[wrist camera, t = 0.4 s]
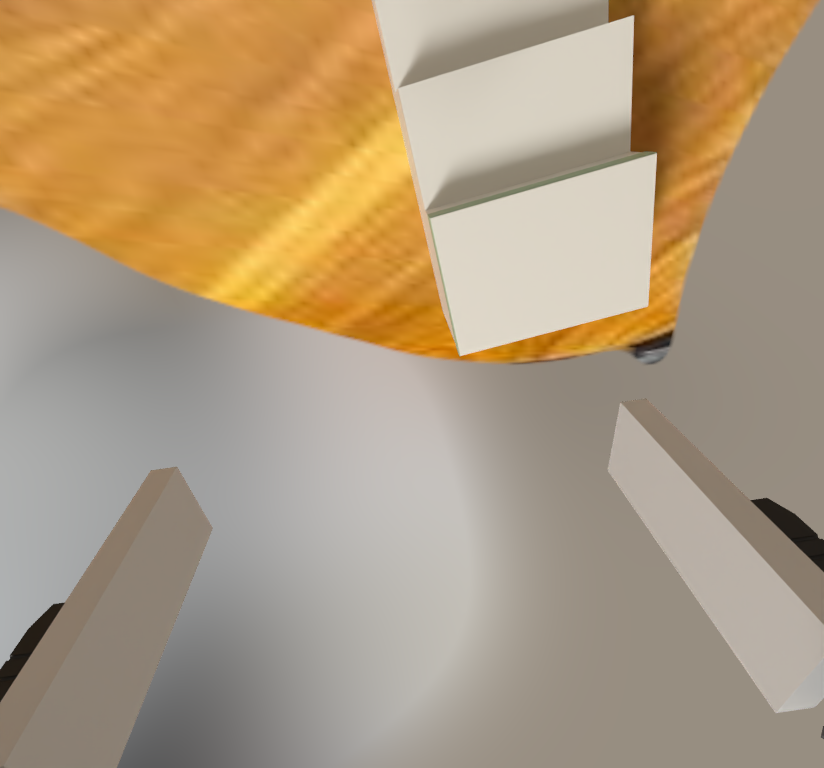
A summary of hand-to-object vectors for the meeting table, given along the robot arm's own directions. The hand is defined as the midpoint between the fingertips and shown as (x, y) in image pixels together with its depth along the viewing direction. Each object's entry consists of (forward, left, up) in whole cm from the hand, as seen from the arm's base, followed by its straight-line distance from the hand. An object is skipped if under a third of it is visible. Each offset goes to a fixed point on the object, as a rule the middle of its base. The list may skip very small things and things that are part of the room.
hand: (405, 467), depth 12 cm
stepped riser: (-5, +11, -27) cm, 29 cm away
